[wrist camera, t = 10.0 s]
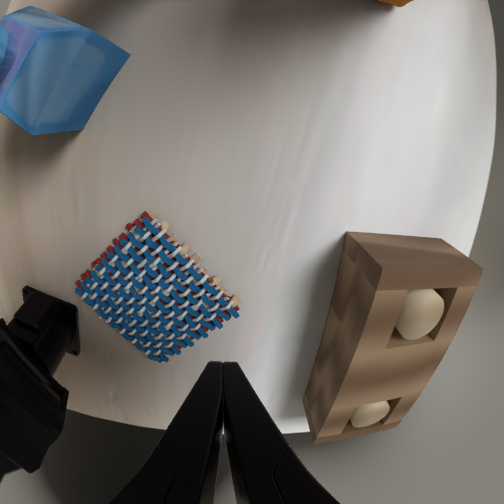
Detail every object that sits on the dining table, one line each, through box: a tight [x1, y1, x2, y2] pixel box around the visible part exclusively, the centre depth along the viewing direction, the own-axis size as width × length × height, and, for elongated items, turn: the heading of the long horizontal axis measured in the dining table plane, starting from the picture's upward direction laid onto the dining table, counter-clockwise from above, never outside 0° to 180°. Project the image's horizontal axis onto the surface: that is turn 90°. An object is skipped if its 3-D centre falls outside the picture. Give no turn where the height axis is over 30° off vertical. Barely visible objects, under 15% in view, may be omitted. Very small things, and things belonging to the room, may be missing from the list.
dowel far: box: [350, 400, 390, 427], centre depth 25 cm, size 4×4×6 cm
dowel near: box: [395, 289, 444, 340], centre depth 20 cm, size 4×4×6 cm
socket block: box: [303, 232, 483, 444], centre depth 22 cm, size 20×10×6 cm, turn 176°
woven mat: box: [75, 210, 240, 363], centre depth 21 cm, size 10×11×2 cm
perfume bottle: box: [0, 6, 130, 136], centre depth 9 cm, size 6×6×12 cm
